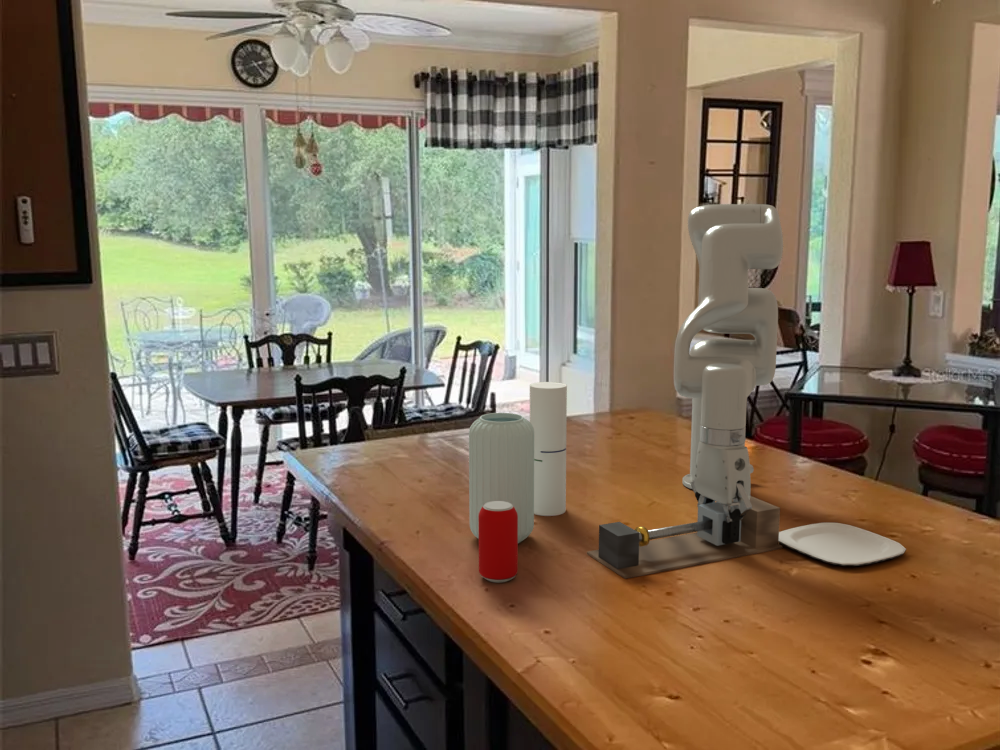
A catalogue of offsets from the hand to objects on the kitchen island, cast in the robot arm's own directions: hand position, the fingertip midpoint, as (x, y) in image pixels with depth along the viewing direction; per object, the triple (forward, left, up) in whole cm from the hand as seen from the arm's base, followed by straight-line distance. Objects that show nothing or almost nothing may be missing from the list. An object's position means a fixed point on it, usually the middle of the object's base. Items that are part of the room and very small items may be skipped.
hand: (718, 535), depth 156 cm
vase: (+33, -19, -2) cm, 38 cm away
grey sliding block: (0, 0, -1) cm, 1 cm away
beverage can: (+41, -3, -2) cm, 41 cm away
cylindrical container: (+18, -30, -2) cm, 35 cm away
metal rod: (+8, 0, +1) cm, 9 cm away
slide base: (+7, 0, -2) cm, 7 cm away
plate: (-18, +10, -2) cm, 21 cm away
